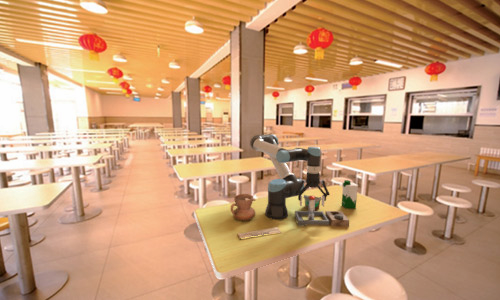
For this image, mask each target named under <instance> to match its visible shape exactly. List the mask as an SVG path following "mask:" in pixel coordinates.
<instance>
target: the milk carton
mask: <svg viewBox="0 0 500 300" xmlns="http://www.w3.org/2000/svg"><path fill="white" fill-rule="evenodd" d="M358 188H359V184H356V183H355V182H352V181H351V180H348V179H347V180H345V179H344V182H342V193H341V194H342V197H341V207H343V208H344V209H346V210H347V209H349V210H350V209H351V210H352V209H353V210H354V209H355V210H356V209H357V197H358Z"/></svg>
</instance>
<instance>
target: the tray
mask: <svg viewBox="0 0 500 300" xmlns="http://www.w3.org/2000/svg"><path fill="white" fill-rule="evenodd" d="M308 211H309V210H306V211H305V210H295V211H294V218H295V220H296V222H297V225H298V227H306V226H307V225H309V226H310V225H311V226H316V225H317V226H318V225H319V226H330V223H329V220H328V218H327V217H326V216H325V212H324V211H323V210H322V211H319V210H315V212H314V217H315V216H316V217H317V216H318V217H321V218H322V219H314V220H308V219H304V218H303V216H306V217H308Z"/></svg>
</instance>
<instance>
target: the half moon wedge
mask: <svg viewBox="0 0 500 300" xmlns="http://www.w3.org/2000/svg"><path fill="white" fill-rule="evenodd" d="M303 194H304V195H303V199H304V207H305V209H307V210H309V196H310V195H306V194H305V193H303ZM321 201H322V196H319V197H317V196H315V211H319V209H320V204H321Z"/></svg>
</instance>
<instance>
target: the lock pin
mask: <svg viewBox="0 0 500 300" xmlns="http://www.w3.org/2000/svg"><path fill="white" fill-rule="evenodd" d="M308 196H309V209H308V210H307V211H308V216H307V220H315V216H314V212H315V211H316V210H315V197H316V196H315V195H308Z"/></svg>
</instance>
